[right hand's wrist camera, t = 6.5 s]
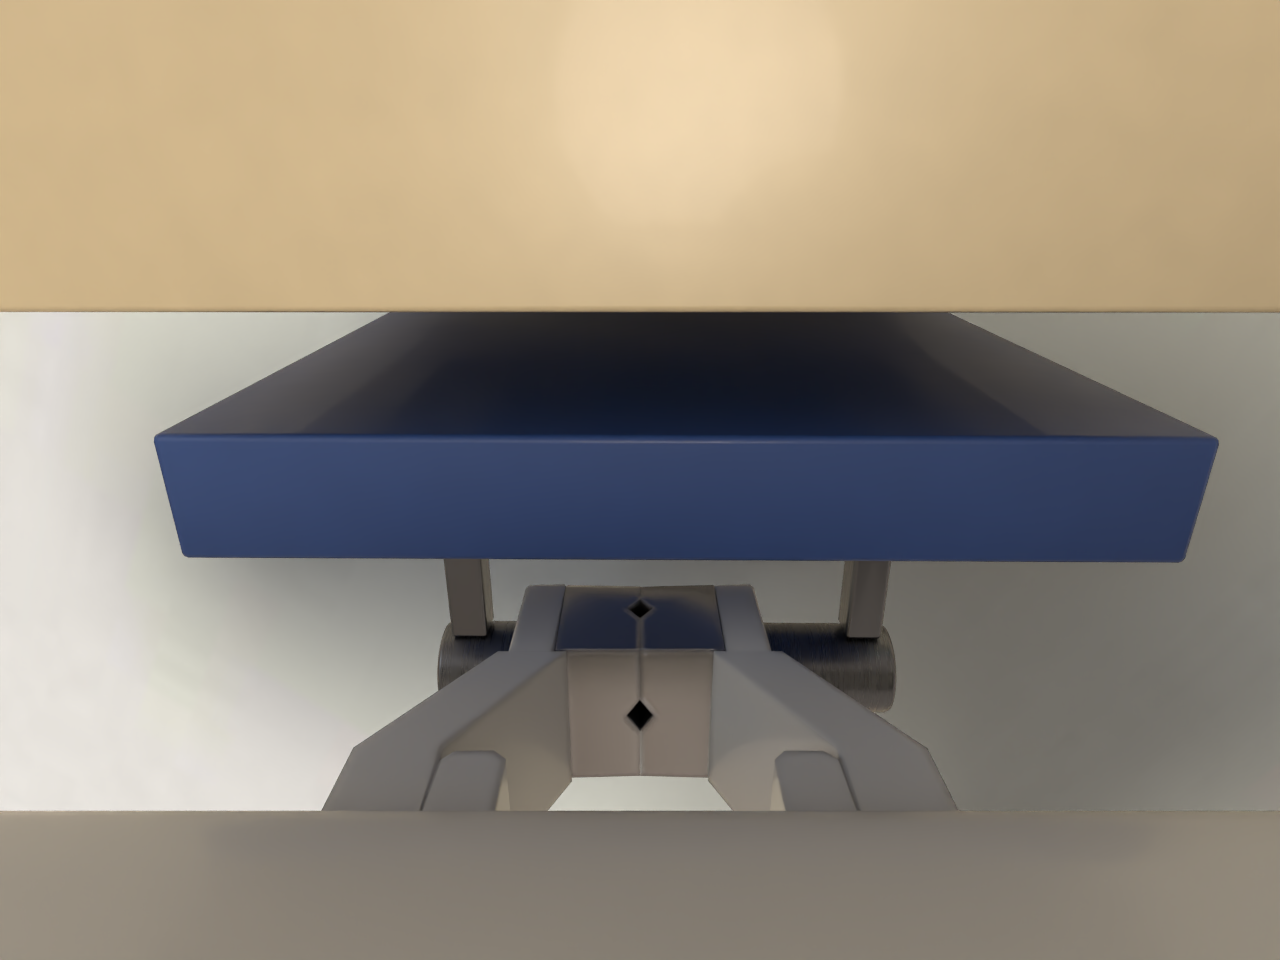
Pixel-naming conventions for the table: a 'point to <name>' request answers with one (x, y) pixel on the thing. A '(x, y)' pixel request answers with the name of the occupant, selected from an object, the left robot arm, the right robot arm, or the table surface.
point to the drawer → (685, 458)
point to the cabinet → (640, 156)
